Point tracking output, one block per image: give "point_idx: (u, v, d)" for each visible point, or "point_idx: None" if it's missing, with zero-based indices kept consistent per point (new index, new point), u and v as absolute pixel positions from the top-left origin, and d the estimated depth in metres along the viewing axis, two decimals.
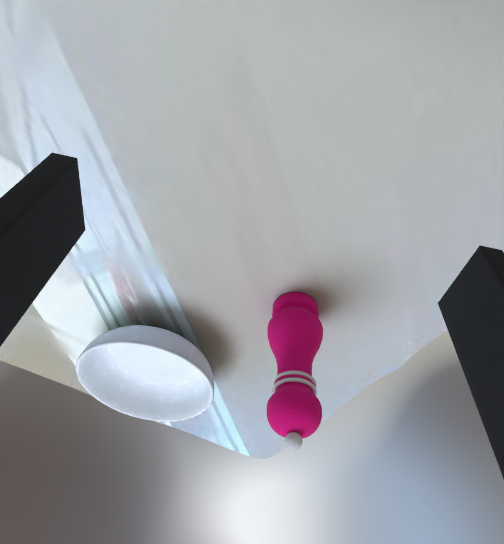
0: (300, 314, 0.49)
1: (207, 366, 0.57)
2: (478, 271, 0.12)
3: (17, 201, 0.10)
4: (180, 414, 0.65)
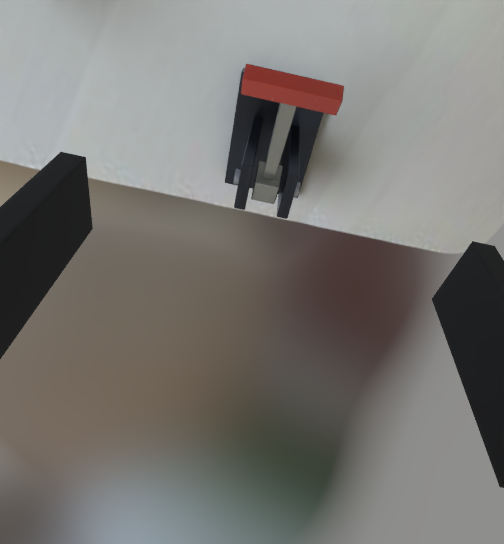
0: None
1: None
2: (471, 266, 0.12)
3: (28, 199, 0.10)
4: None
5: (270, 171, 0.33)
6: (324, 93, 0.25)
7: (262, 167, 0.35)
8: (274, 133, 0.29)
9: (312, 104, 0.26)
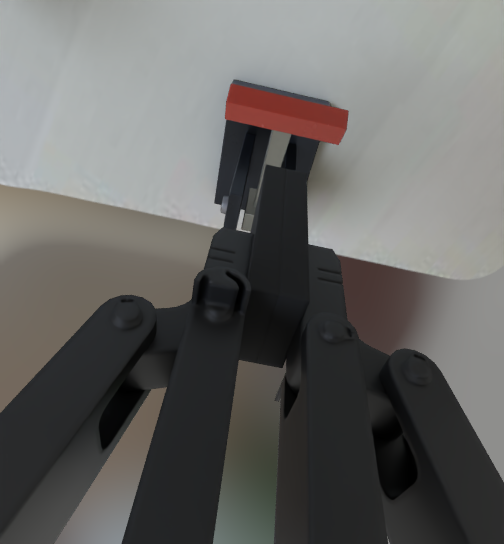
0: None
1: None
2: None
3: (272, 206, 0.12)
4: None
5: None
6: (325, 120, 0.21)
7: (253, 195, 0.31)
8: (266, 162, 0.25)
9: (310, 132, 0.21)
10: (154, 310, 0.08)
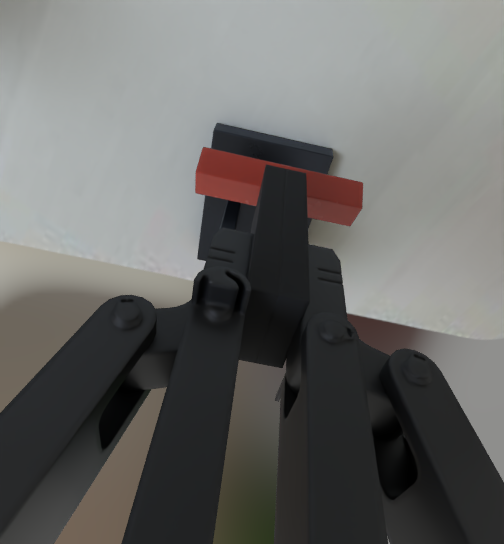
0: None
1: None
2: None
3: (272, 206, 0.12)
4: None
5: None
6: (332, 196, 0.15)
7: None
8: None
9: (312, 211, 0.16)
10: (154, 310, 0.08)
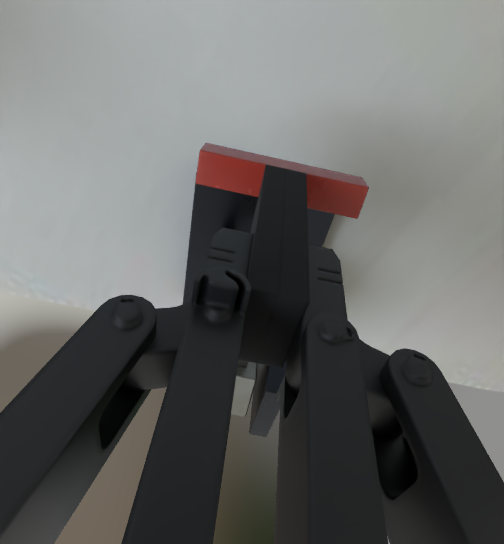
0: None
1: None
2: None
3: (272, 206, 0.12)
4: None
5: None
6: (337, 178, 0.15)
7: None
8: None
9: (318, 197, 0.15)
10: (154, 310, 0.08)
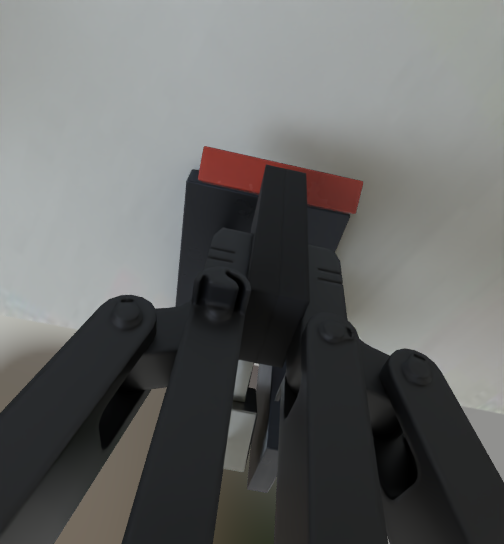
0: None
1: None
2: None
3: (272, 206, 0.12)
4: None
5: (238, 376, 0.17)
6: None
7: None
8: None
9: (316, 192, 0.16)
10: (154, 310, 0.08)
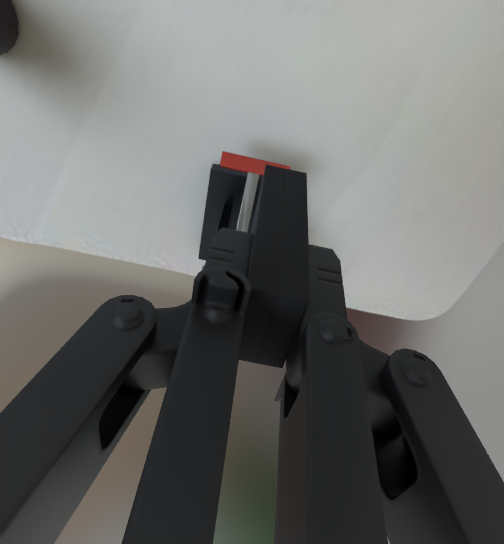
0: None
1: None
2: None
3: (272, 206, 0.12)
4: None
5: None
6: (277, 164, 0.37)
7: None
8: (242, 205, 0.37)
9: None
10: (154, 310, 0.08)
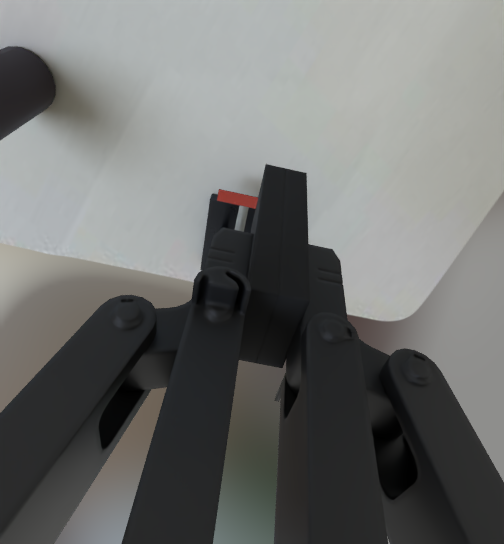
0: None
1: None
2: None
3: (273, 206, 0.12)
4: None
5: None
6: None
7: None
8: None
9: None
10: (154, 310, 0.08)
